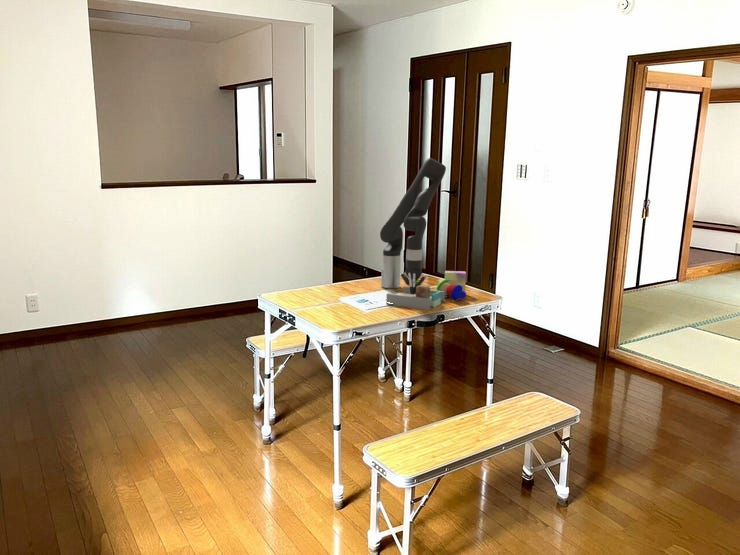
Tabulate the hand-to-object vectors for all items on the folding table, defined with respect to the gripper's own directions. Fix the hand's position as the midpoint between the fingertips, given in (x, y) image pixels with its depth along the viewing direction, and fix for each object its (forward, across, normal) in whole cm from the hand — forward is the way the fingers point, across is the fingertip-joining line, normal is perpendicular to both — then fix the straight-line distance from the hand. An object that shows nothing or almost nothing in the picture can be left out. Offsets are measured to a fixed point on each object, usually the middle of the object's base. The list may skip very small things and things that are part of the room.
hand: (413, 294), depth 297 cm
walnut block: (+1, +5, 0) cm, 5 cm away
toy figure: (+4, +13, +15) cm, 20 cm away
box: (+4, +11, +26) cm, 28 cm away
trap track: (+4, +1, 0) cm, 4 cm away
